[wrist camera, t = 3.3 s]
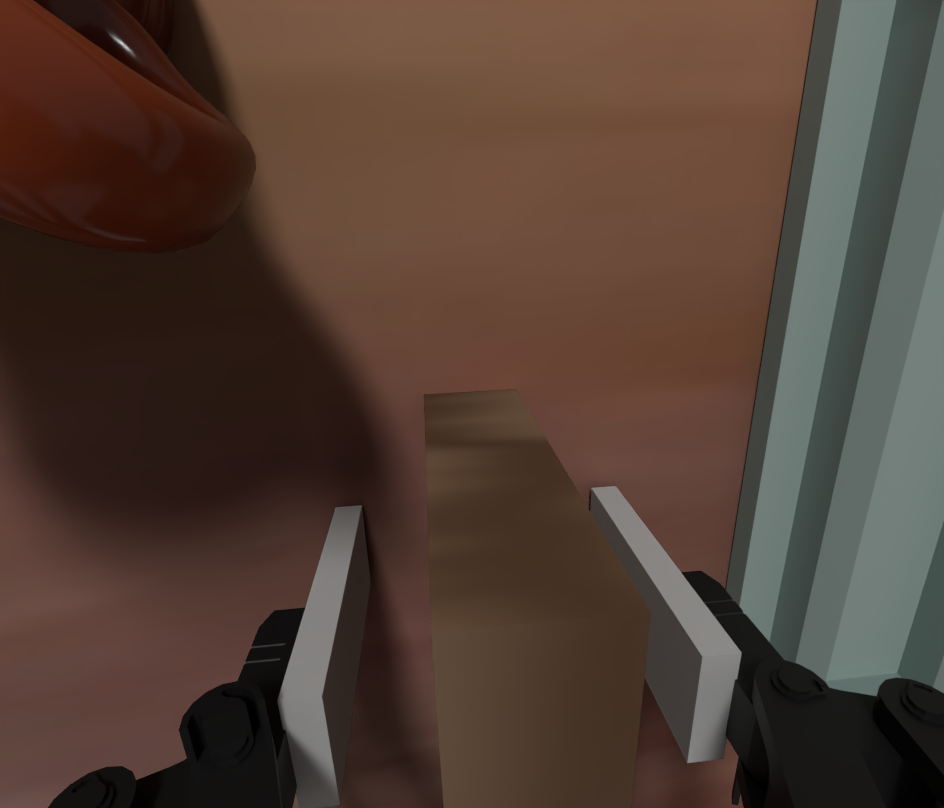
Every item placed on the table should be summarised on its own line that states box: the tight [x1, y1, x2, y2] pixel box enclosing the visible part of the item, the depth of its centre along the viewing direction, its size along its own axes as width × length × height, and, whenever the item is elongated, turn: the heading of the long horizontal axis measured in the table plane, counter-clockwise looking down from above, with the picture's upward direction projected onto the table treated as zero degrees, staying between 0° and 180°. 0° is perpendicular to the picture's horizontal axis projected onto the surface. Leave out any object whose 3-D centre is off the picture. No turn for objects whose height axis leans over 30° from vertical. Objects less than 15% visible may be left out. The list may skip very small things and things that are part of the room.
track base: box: [726, 0, 944, 696], centre depth 15 cm, size 9×22×2 cm, turn 2°
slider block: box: [424, 389, 651, 808], centre depth 12 cm, size 3×9×9 cm, turn 2°
